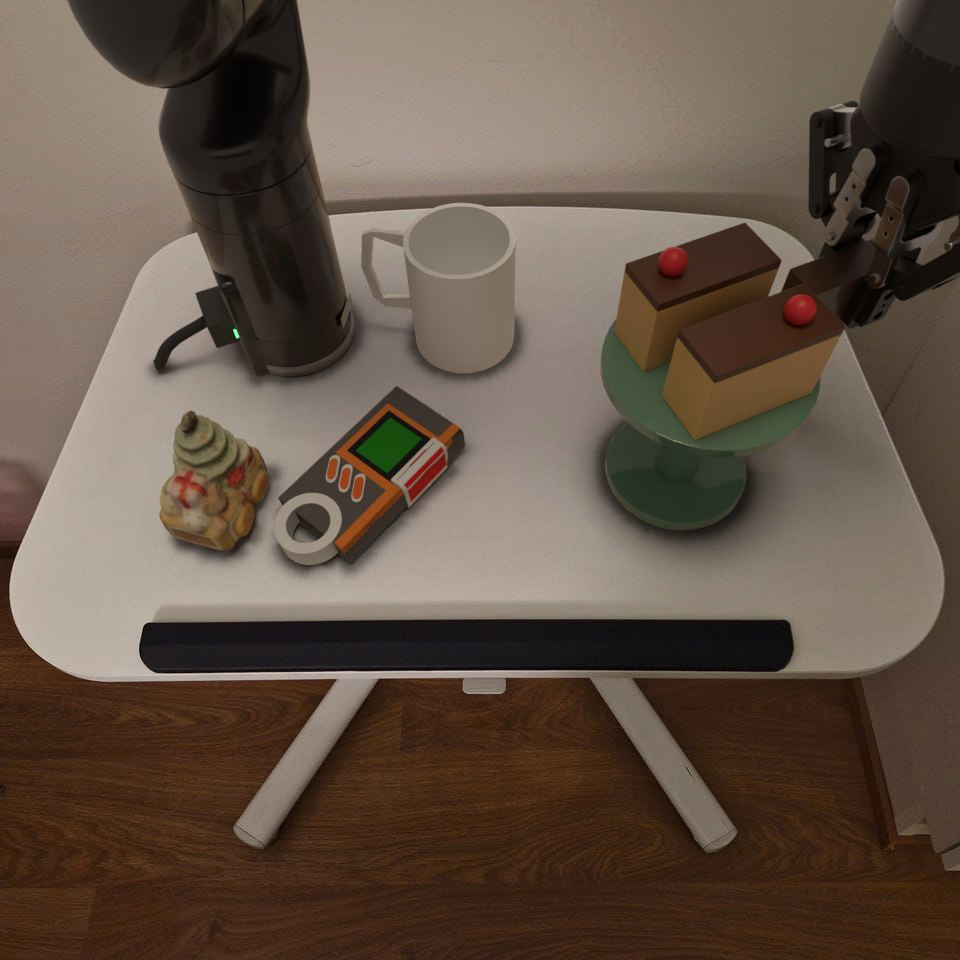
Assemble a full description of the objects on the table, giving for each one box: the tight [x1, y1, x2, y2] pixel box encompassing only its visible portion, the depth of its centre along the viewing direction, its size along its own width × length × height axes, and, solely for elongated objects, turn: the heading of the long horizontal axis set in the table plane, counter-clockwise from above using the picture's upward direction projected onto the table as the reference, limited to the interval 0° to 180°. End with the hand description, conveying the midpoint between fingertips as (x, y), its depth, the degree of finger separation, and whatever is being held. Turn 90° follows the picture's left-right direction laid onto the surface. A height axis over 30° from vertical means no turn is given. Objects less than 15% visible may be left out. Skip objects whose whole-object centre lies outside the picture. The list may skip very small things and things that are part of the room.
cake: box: [614, 222, 847, 440], centre depth 44 cm, size 8×9×7 cm
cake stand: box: [599, 317, 822, 531], centre depth 52 cm, size 13×13×12 cm
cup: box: [360, 202, 517, 374], centre depth 61 cm, size 8×12×10 cm
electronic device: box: [273, 385, 466, 566], centre depth 56 cm, size 7×3×15 cm
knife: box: [677, 237, 876, 338], centre depth 46 cm, size 15×2×4 cm, turn 114°
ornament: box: [158, 410, 270, 552], centre depth 52 cm, size 8×6×10 cm
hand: (842, 304), depth 49 cm, fingers closed on knife, 2 cm apart
